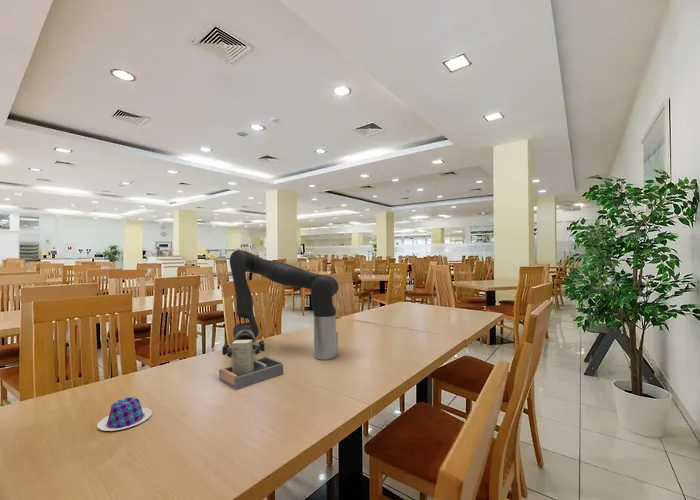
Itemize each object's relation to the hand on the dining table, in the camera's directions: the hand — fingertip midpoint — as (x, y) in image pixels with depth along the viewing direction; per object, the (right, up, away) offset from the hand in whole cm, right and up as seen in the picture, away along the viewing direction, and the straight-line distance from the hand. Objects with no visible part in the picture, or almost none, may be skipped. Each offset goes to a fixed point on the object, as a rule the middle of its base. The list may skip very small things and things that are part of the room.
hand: (243, 353), depth 112 cm
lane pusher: (+4, -8, +6) cm, 11 cm away
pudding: (-23, -10, -25) cm, 36 cm away
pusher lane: (+2, -10, +4) cm, 10 cm away
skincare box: (-1, -9, +2) cm, 9 cm away
